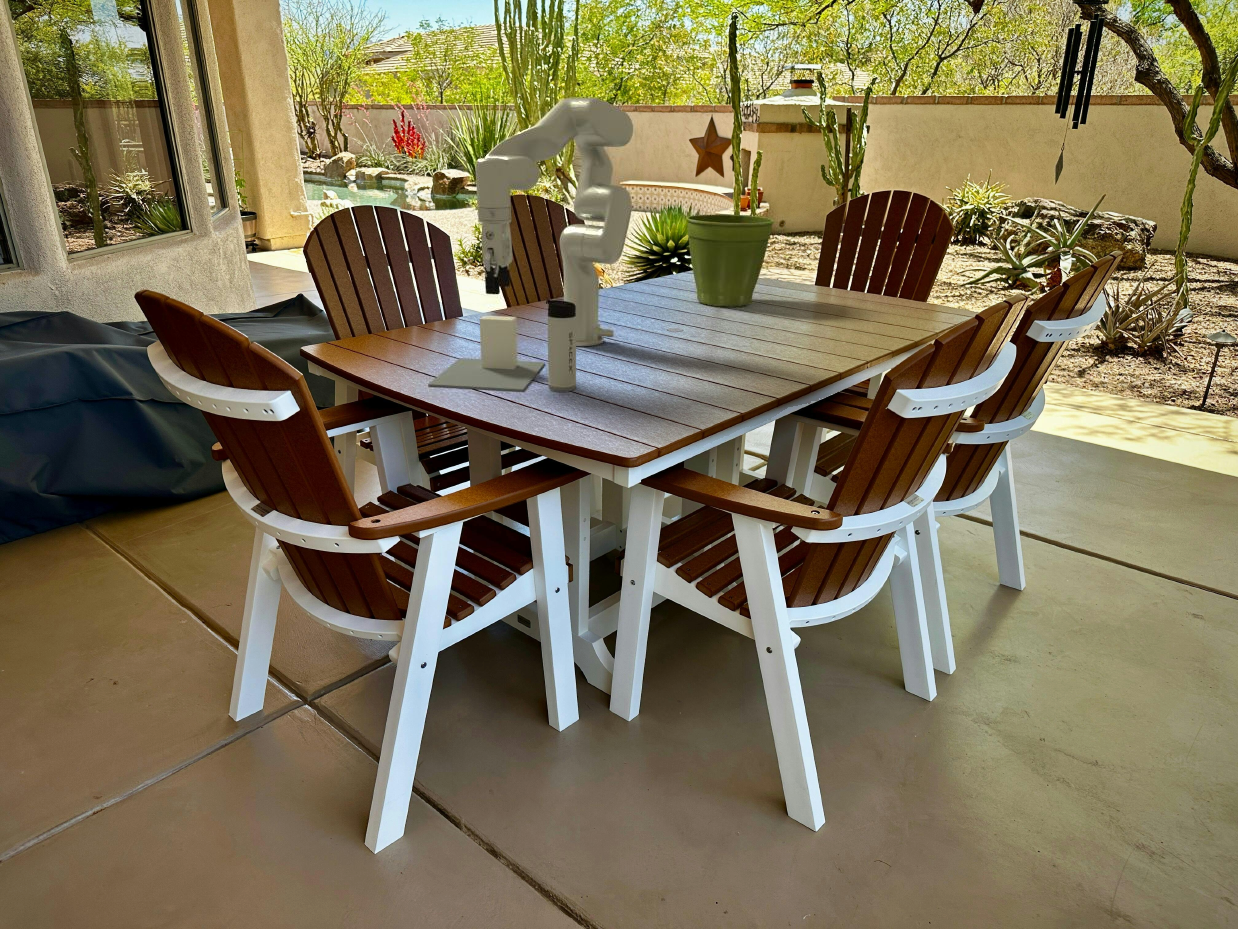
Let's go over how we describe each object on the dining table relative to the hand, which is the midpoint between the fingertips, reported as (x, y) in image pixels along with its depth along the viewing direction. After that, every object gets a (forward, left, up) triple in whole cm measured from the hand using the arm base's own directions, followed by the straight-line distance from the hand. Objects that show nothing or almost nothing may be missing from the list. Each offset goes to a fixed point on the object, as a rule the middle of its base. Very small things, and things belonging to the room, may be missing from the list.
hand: (498, 289), depth 193 cm
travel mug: (-18, +14, -19) cm, 30 cm away
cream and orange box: (0, 0, -19) cm, 19 cm away
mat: (+1, +6, -19) cm, 20 cm away
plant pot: (-55, -100, -19) cm, 115 cm away
